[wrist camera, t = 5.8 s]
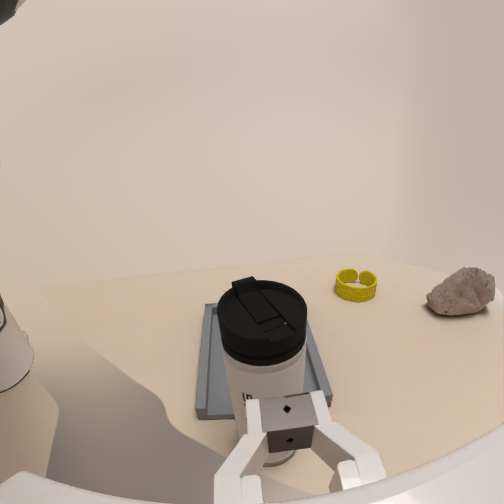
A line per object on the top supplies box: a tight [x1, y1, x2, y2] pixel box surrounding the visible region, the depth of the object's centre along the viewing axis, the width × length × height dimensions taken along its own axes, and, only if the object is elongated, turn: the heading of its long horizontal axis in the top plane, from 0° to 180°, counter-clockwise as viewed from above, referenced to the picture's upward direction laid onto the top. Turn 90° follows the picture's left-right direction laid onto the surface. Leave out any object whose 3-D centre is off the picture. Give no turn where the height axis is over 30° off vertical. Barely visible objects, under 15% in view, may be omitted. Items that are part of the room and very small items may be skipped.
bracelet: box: [335, 269, 377, 302], centre depth 55 cm, size 7×8×3 cm
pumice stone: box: [426, 267, 495, 315], centre depth 44 cm, size 15×8×10 cm, turn 81°
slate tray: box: [195, 303, 333, 420], centre depth 42 cm, size 16×22×2 cm
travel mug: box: [217, 276, 307, 466], centre depth 24 cm, size 6×7×20 cm
